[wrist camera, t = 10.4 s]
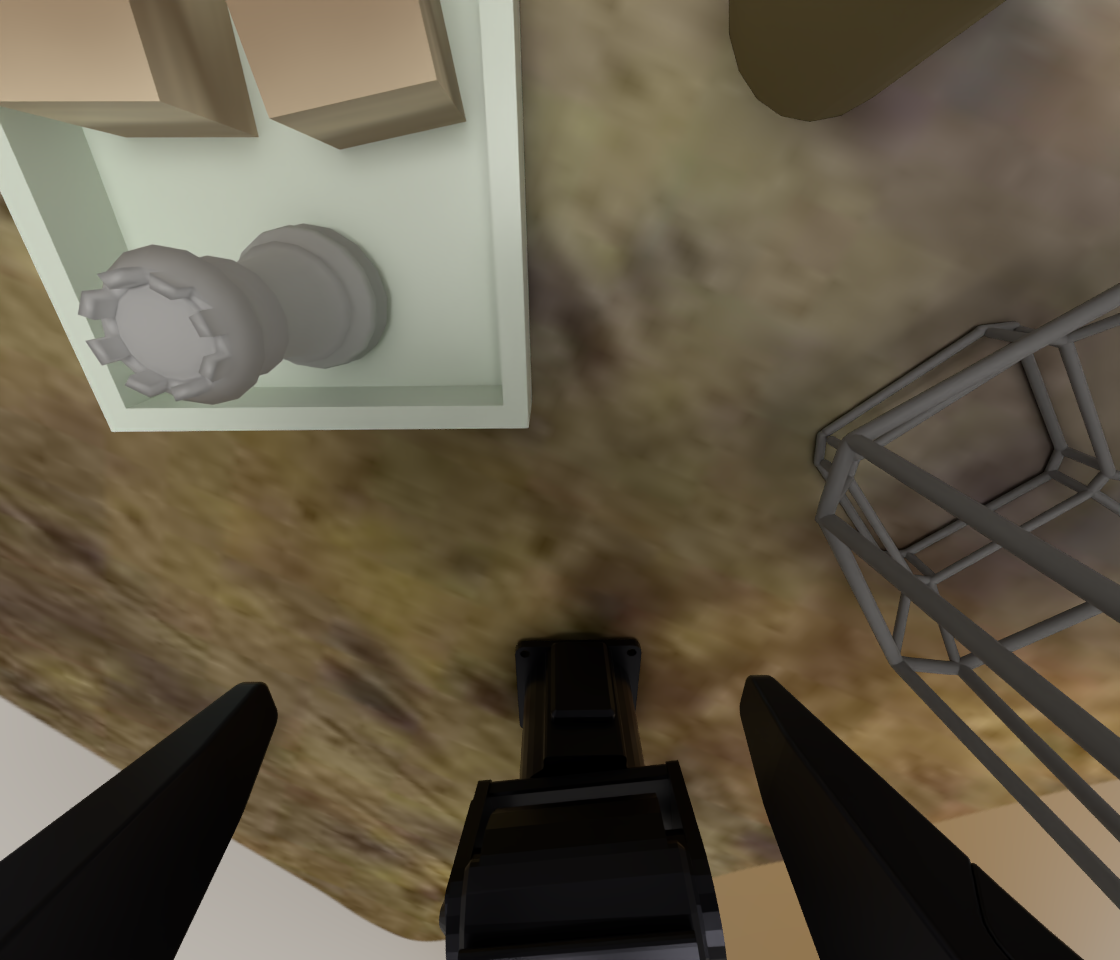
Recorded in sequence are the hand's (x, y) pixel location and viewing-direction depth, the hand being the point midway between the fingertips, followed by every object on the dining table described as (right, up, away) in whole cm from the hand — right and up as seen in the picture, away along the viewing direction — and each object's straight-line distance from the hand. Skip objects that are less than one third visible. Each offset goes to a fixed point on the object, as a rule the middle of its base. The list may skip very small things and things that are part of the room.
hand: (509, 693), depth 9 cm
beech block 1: (-10, +16, +4) cm, 20 cm away
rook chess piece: (-7, +10, +8) cm, 15 cm away
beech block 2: (-4, +16, +5) cm, 17 cm away
